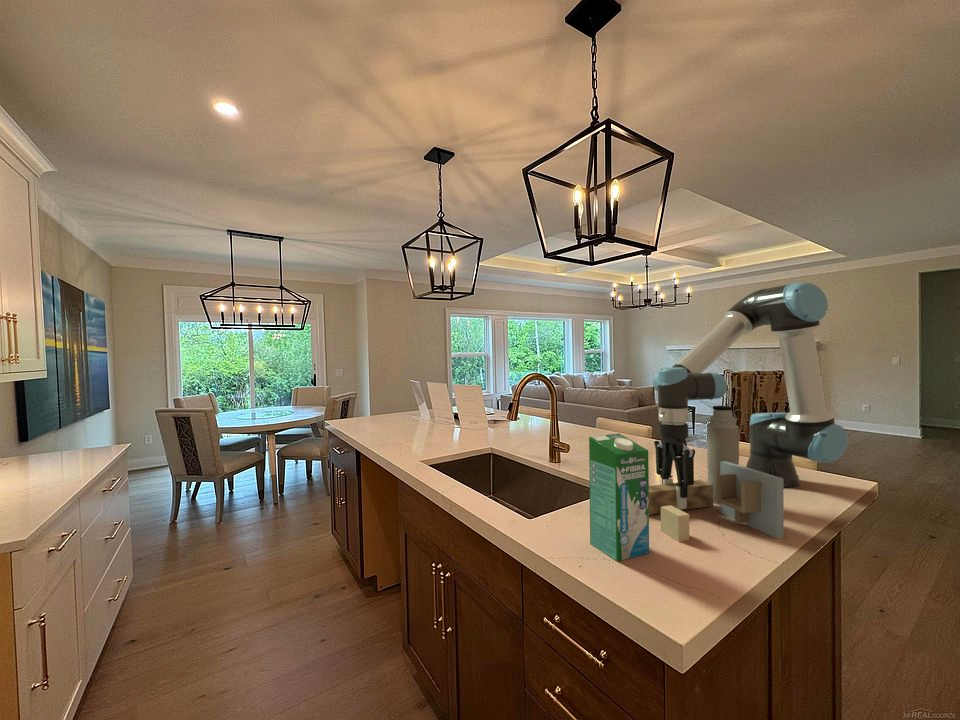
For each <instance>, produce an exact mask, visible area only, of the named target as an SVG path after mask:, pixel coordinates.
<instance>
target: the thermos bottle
mask: <svg viewBox="0 0 960 720" xmlns="http://www.w3.org/2000/svg"><path fill="white" fill-rule="evenodd" d="M712 410H713V412H712V415H711V416H710V417H709V423H707V424H706V426H707V427H706V431H707V433H706V435H707V436H706V439H707V443H706V445H707V446H706V447H707V458H706V459H707V460H706V461H707V482H708V483H710V484H713V504H715V505H716V504H717V505H720V506H721V503H719V502H717V475H720V462H724V461H727V462H730V463H734V464H737V465H740V462H739V461H740V426H739V425H737V422H738V421H737V419H736V418H735V417H734V416H733V407H732V406H728V405H714V406H712Z"/></svg>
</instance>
